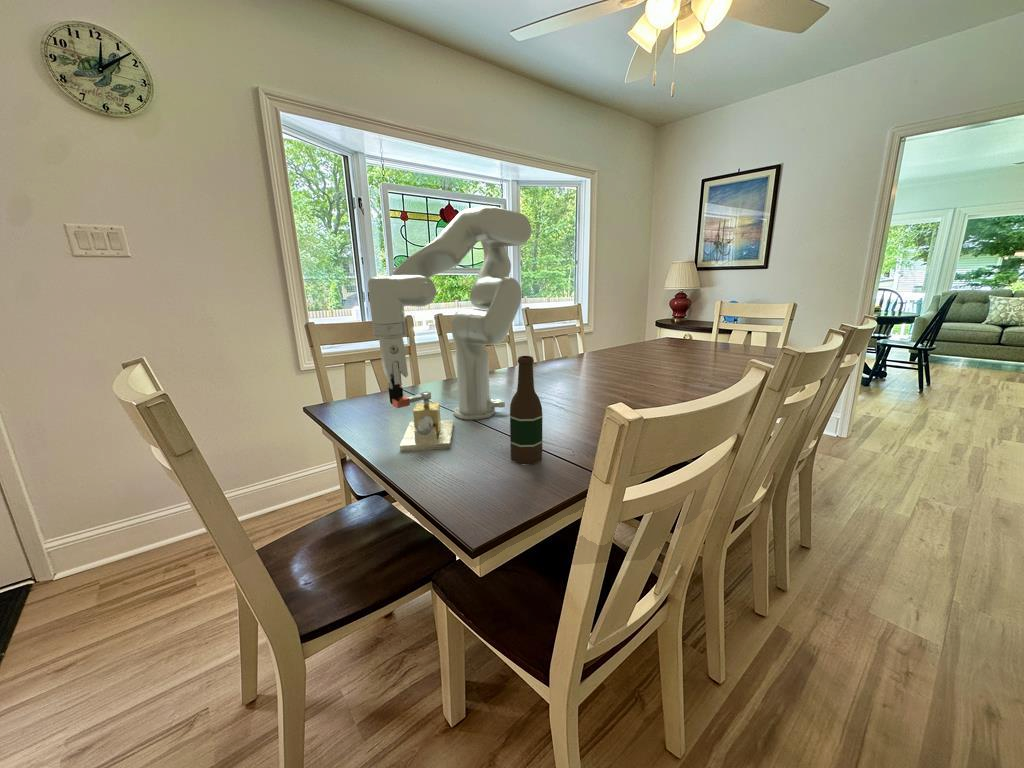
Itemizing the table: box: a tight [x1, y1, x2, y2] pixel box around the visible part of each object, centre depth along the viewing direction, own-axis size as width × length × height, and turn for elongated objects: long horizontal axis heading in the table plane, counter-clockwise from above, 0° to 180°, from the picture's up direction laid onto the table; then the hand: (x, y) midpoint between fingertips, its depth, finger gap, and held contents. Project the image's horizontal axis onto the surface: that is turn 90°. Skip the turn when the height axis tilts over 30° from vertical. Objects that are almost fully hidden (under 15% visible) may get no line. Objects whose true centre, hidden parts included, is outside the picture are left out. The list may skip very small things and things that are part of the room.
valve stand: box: [399, 399, 454, 452], centre depth 103 cm, size 12×16×10 cm
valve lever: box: [392, 391, 432, 409], centre depth 99 cm, size 10×3×2 cm, turn 134°
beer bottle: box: [509, 355, 543, 465], centre depth 89 cm, size 8×8×24 cm
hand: (396, 402), depth 100 cm, fingers closed
